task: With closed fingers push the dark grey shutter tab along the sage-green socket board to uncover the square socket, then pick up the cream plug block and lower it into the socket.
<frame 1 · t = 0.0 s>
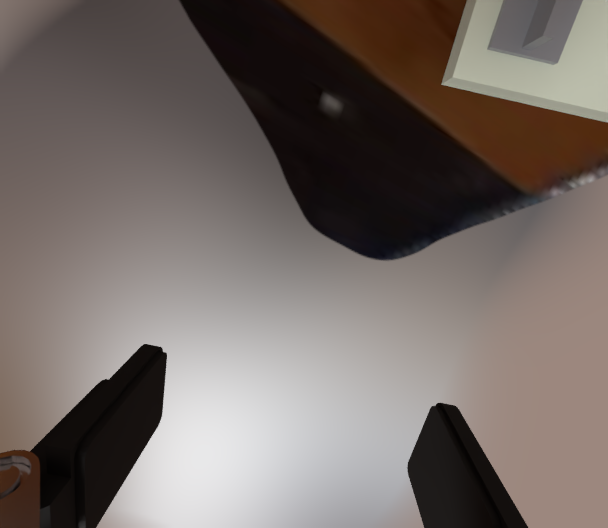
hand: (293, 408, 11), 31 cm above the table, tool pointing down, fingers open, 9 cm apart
shutter: (548, 7, 28), point 5 cm above the table, slide at 0.0 cm
socket board: (551, 38, 33), on the table
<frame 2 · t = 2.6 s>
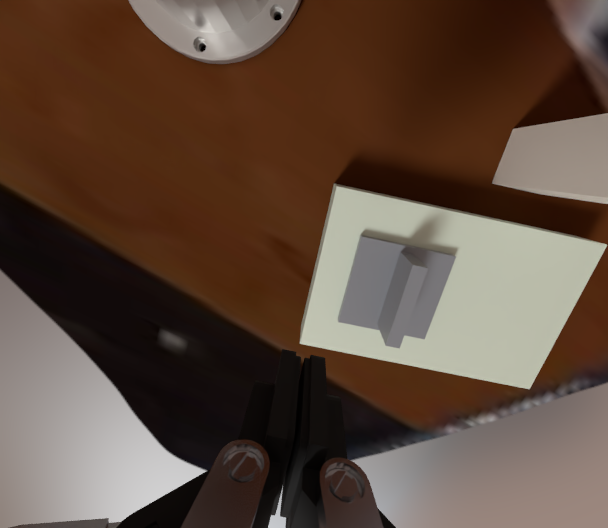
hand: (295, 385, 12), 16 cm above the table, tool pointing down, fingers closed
shutter: (398, 297, 22), point 5 cm above the table, slide at 0.0 cm
socket board: (429, 283, 27), on the table
plug: (527, 162, 23), on the table
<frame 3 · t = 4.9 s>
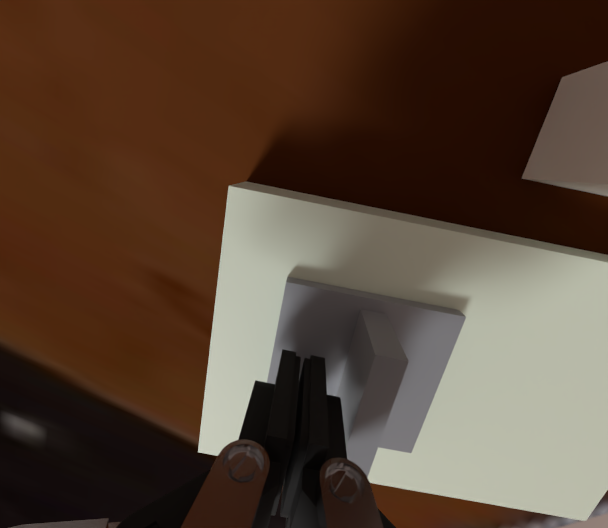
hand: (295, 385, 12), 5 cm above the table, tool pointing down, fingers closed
shutter: (358, 396, 12), point 5 cm above the table, slide at 0.2 cm, touching gripper
socket board: (415, 343, 16), on the table
plug: (585, 139, 13), on the table
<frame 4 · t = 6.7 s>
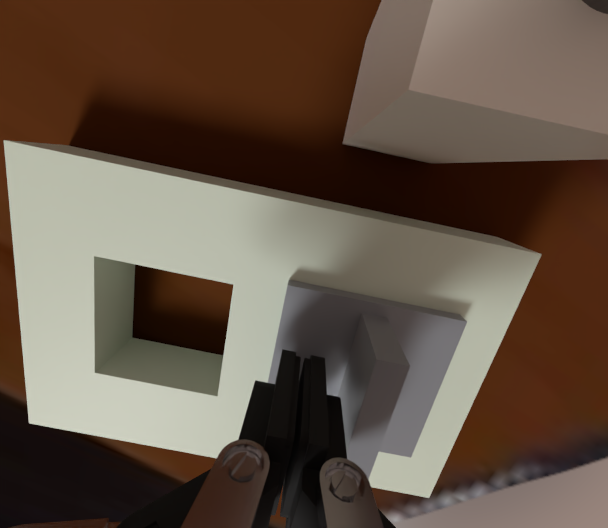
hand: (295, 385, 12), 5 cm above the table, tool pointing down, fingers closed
shutter: (358, 400, 12), point 5 cm above the table, slide at 8.4 cm, touching gripper
socket board: (263, 316, 16), on the table
plug: (400, 104, 13), on the table
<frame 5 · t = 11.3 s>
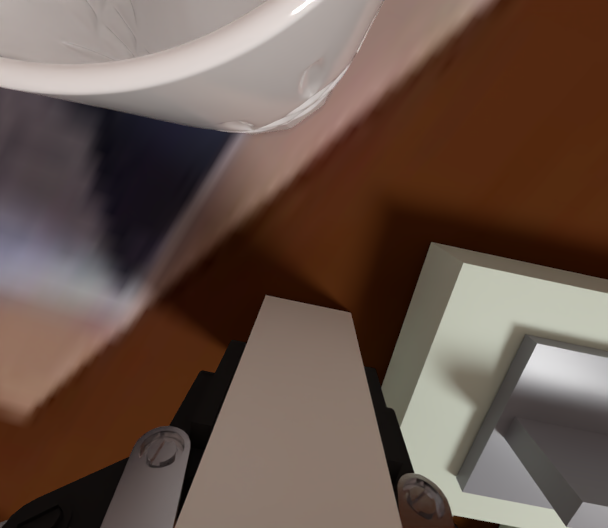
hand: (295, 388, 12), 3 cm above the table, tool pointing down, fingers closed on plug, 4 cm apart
socket board: (488, 447, 16), on the table
white cup: (257, 36, 11), on the table
plug: (299, 341, 15), on the table, touching gripper
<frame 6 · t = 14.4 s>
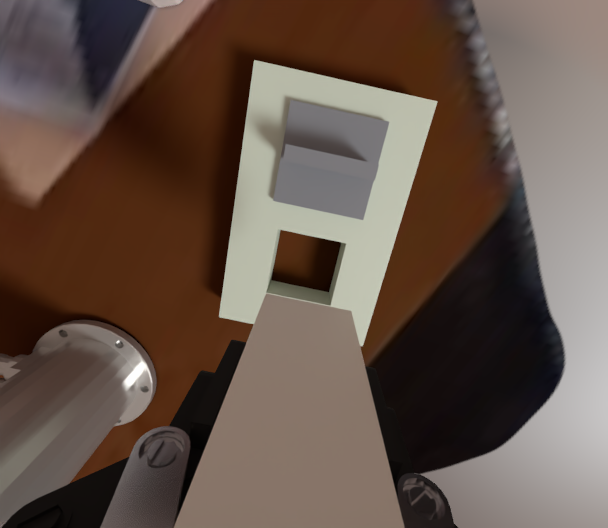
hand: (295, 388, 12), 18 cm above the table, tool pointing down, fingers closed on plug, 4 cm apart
shutter: (329, 162, 21), point 5 cm above the table, slide at 8.5 cm
socket board: (315, 216, 27), on the table
plug: (300, 339, 15), point 14 cm above the table, touching gripper
when the fingers open (4 cm above the table, at t = 17.5 s): plug drops 1 cm, resting in socket board.
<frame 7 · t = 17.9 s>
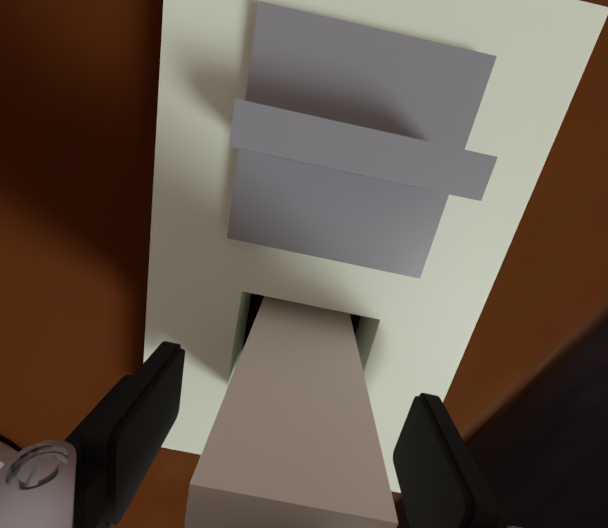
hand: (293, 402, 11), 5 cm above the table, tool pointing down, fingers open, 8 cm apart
shutter: (352, 154, 9), point 5 cm above the table, slide at 8.5 cm
socket board: (317, 256, 15), on the table
plug: (299, 328, 16), resting in socket board
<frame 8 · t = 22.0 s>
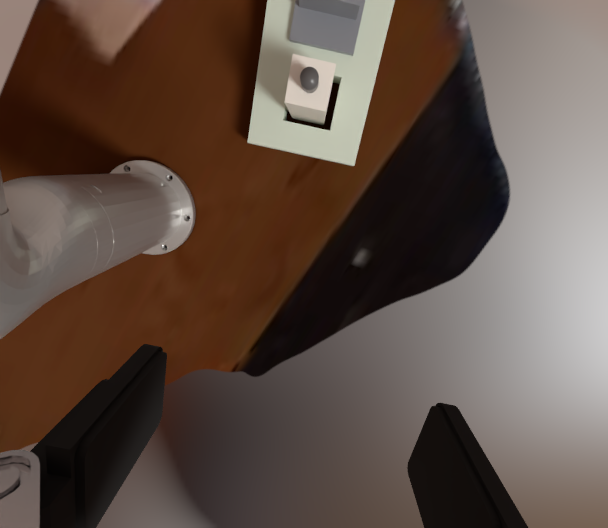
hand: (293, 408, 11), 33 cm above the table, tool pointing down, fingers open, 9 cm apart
shutter: (329, 1, 31), point 5 cm above the table, slide at 8.5 cm
socket board: (319, 67, 37), on the table
plug: (311, 104, 38), resting in socket board
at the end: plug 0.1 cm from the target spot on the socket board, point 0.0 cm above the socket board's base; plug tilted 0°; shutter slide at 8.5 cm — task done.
